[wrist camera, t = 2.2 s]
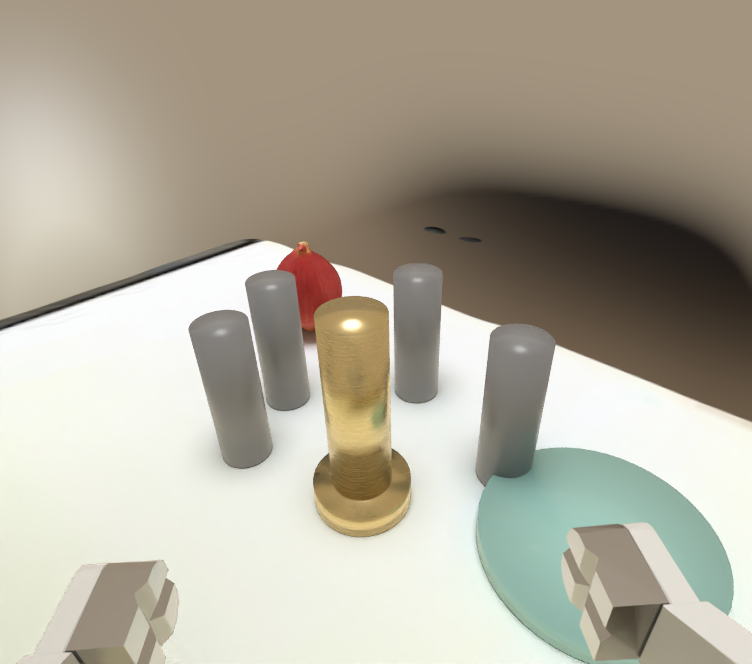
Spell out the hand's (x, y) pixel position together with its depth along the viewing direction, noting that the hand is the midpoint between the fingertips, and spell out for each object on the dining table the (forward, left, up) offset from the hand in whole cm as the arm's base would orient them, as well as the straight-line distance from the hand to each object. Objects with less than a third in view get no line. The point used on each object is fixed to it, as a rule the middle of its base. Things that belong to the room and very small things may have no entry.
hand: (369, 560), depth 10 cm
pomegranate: (-4, +30, -13) cm, 33 cm away
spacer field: (0, +17, -13) cm, 21 cm away
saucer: (+11, +8, -13) cm, 18 cm away
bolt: (0, +12, -13) cm, 18 cm away
